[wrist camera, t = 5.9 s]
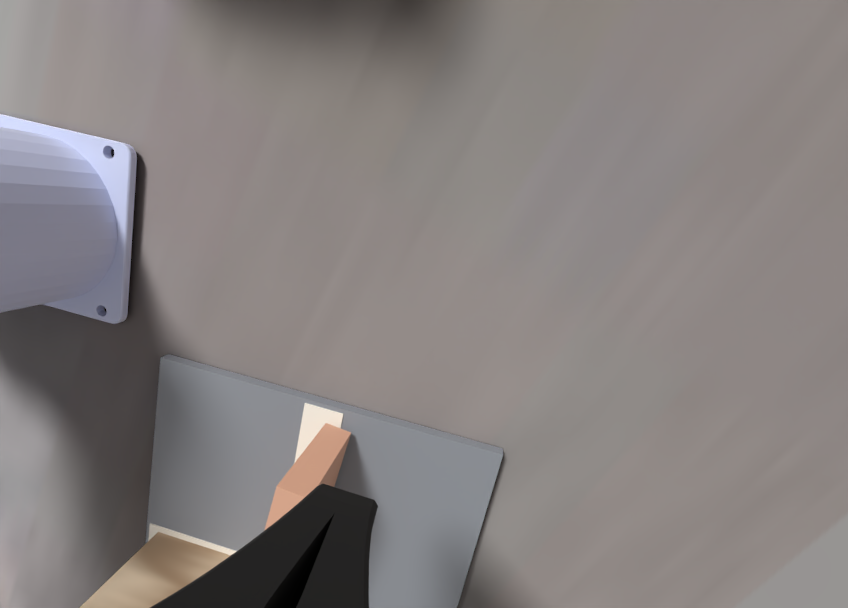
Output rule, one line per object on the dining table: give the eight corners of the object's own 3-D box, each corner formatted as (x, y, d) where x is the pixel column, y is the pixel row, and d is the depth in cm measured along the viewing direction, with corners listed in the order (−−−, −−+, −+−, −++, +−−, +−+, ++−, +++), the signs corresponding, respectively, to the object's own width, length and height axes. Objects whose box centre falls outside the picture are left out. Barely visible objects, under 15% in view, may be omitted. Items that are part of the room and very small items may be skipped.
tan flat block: (306, 573, 21) (257, 670, 16) (283, 564, 21) (229, 657, 16) (351, 432, 19) (309, 499, 14) (325, 422, 19) (276, 486, 14)
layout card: (148, 589, 23) (139, 598, 23) (168, 354, 20) (159, 357, 20) (431, 686, 22) (429, 698, 21) (502, 448, 19) (503, 455, 18)
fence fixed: (156, 556, 22) (68, 647, 18) (159, 524, 22) (69, 609, 17) (307, 606, 21) (257, 715, 17) (313, 574, 21) (264, 677, 16)
